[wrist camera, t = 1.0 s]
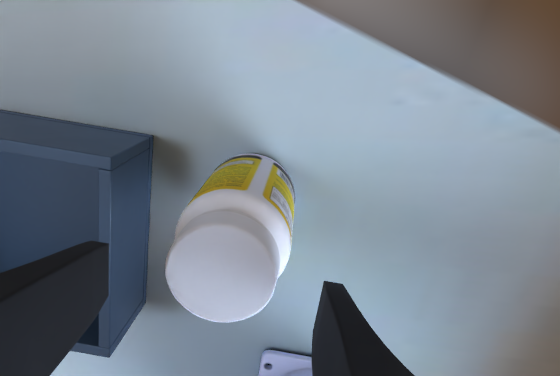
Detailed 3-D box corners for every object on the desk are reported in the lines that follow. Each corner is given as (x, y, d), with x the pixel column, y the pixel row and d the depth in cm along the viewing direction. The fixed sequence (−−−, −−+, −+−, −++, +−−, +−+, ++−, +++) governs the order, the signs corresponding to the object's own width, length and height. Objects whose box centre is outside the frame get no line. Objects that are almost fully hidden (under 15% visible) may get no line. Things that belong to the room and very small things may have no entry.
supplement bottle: (196, 210, 22) (133, 298, 14) (229, 136, 21) (179, 188, 13) (273, 246, 23) (252, 351, 15) (311, 176, 21) (311, 251, 13)
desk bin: (145, 302, 25) (109, 358, 20) (-37, 270, 25) (-112, 318, 20) (153, 135, 21) (111, 157, 17) (-60, 99, 21) (-158, 111, 17)
